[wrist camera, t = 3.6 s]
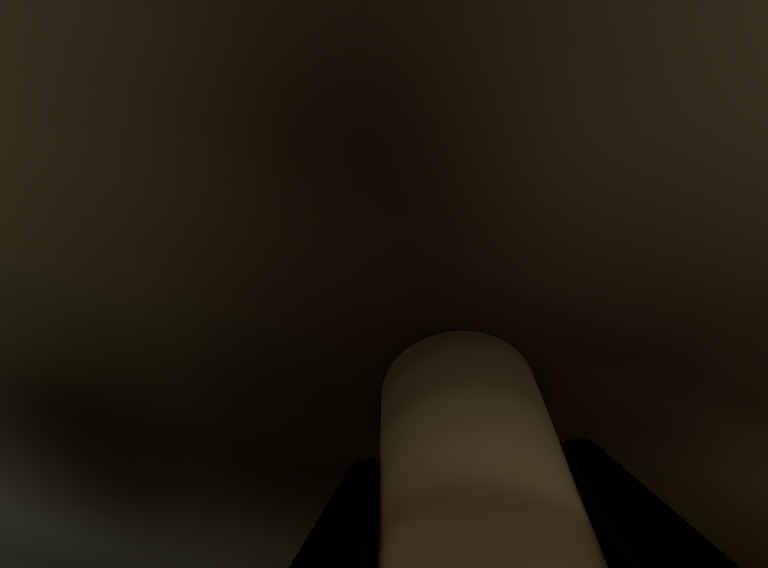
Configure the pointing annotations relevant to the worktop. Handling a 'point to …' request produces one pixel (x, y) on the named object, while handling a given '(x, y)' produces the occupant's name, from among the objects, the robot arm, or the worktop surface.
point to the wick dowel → (474, 464)
